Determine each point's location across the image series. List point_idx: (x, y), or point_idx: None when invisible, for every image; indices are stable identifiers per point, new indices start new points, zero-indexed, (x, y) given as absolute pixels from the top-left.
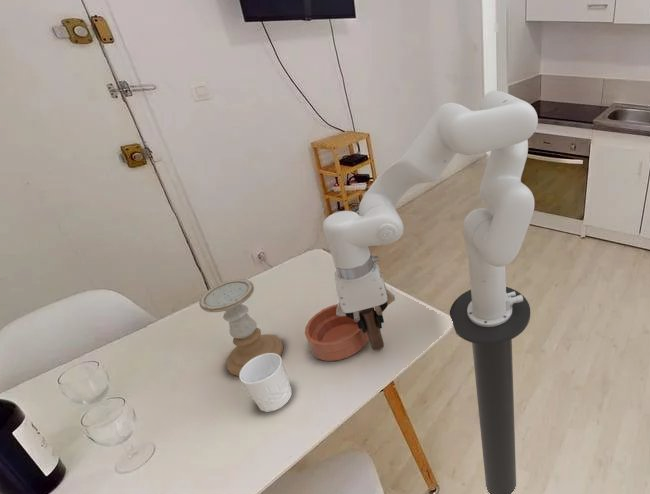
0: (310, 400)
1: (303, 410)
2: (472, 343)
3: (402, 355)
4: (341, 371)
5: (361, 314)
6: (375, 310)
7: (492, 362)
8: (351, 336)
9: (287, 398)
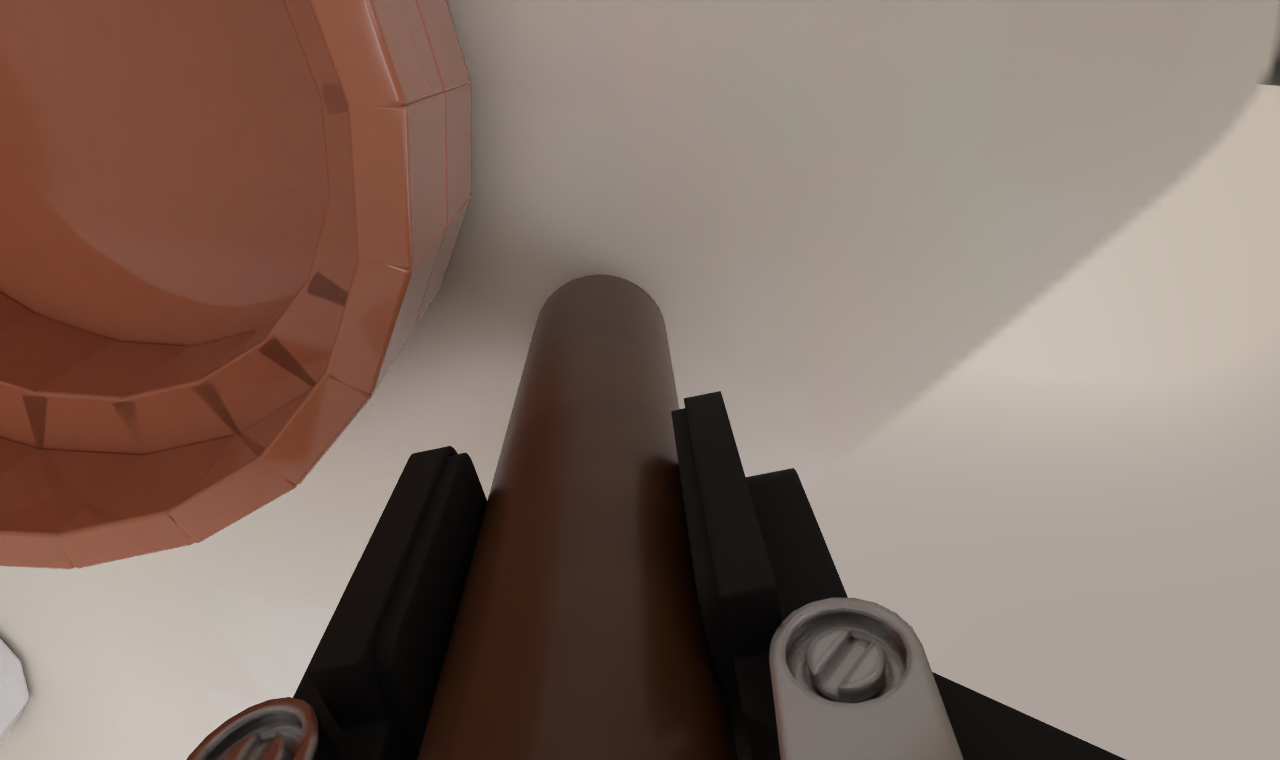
0: (196, 694)
1: (190, 745)
2: None
3: (829, 411)
4: (317, 505)
5: (391, 708)
6: (720, 640)
7: (1265, 84)
8: (293, 479)
9: (11, 717)
